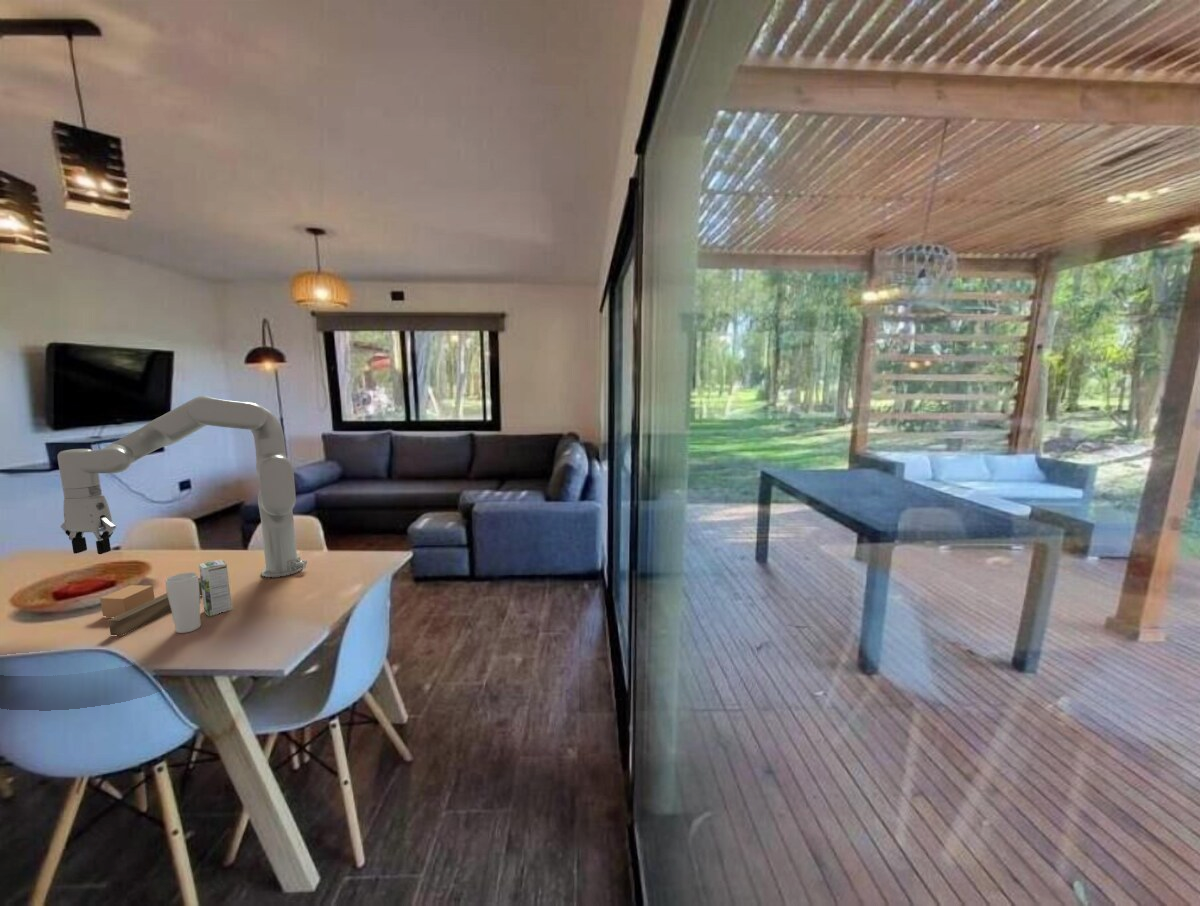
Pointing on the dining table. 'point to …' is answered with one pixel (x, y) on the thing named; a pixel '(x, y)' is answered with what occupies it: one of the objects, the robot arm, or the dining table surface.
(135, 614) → the walnut board
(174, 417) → the robot arm
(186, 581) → the drinking glass
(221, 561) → the syrup box
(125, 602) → the tan block
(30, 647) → the dining table surface
